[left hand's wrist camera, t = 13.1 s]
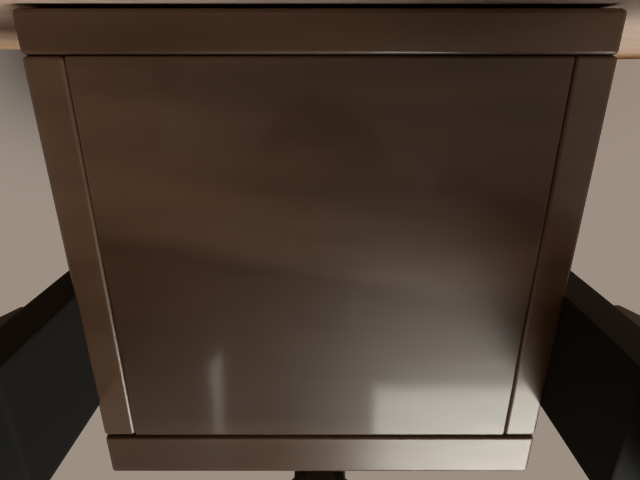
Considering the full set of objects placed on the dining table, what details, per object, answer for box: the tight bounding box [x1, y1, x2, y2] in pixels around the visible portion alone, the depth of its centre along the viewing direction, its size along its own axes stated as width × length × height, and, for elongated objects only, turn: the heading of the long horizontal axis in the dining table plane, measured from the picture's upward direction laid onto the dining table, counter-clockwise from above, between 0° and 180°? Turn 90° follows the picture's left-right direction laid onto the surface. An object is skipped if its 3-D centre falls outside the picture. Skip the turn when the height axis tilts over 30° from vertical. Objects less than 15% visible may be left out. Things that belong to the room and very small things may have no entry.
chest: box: [13, 8, 627, 435], centre depth 16 cm, size 15×10×9 cm, turn 0°
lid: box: [107, 433, 533, 471], centre depth 19 cm, size 16×10×8 cm, turn 0°
